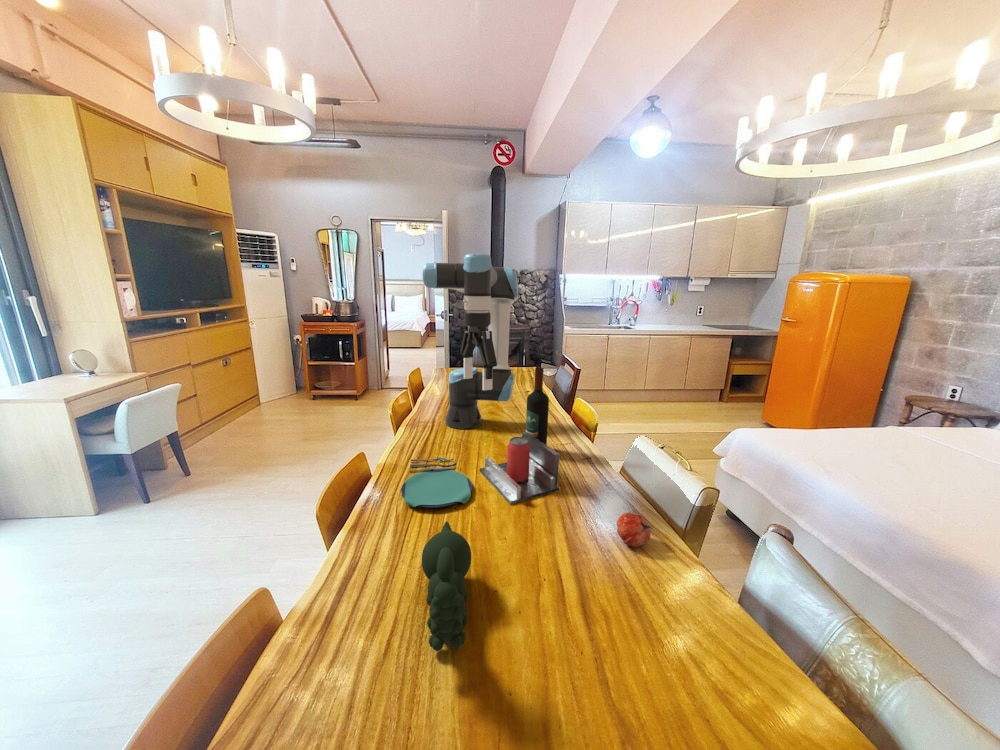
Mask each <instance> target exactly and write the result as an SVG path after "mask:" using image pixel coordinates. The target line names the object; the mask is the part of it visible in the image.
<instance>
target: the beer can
mask: <svg viewBox="0 0 1000 750" xmlns="http://www.w3.org/2000/svg"><path fill="white" fill-rule="evenodd" d="M506 459H507V460H506V461H507V474H508V475H509V476H510V477H511V478H512V479H513V480H514V481H515V482H523V481H526V480H527V479H528V477H529V459H530V446H529V443H528V440H527V439H526V438H524V437H522V436H514V437H510V439H509V442H508V445H507V458H506Z"/></svg>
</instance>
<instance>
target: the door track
mask: <svg viewBox="0 0 1000 750" xmlns="http://www.w3.org/2000/svg"><path fill="white" fill-rule="evenodd" d="M521 437H524V438H526V439H527V440H528V443H529V446H530V459H529V477H528V479H527V480H526V481H523V482H515V481H514V480H513V479H512V478H511V477H510V476H509V475H508V474H507V462H503V463H499V464H498V463H496V462H495V461H494V460H493V459H492V457H490V456H485V457H484V467H481V468H479V472H480V473H481V474H482V476H483V477H484V478H485V479H486V480H487V481H488V482H489V483H490V484H491V486H493V488H494V489H496V491H498V493H499V494H500V495H501V496H502V497H503V498H504V499H505V500H506V501H507V502H508V504H509V505H510V506H511V505H514V504H519V503H522V502H526V501H527V500H528V501H529V500H532V499H535V498H538V497H541V496H544V495H545V496H546V495H549V494H553V493H555V492H558V491H560V486H558V481H559V467H560V466H559V465H560V464H559V463H560V453H559V452H557V451H556V450H555V449H553V448H551V447H550V446H548V444H547V445H545V444H544V443H542V442H541V441H539V440H538V439H537V438H535V437H534V436H532V435H531V434H529V433H528V432H526V431H522V433H521Z"/></svg>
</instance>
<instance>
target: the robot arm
mask: <svg viewBox="0 0 1000 750" xmlns="http://www.w3.org/2000/svg"><path fill="white" fill-rule="evenodd" d="M517 277H518V276H517V271H516V269H515V268H513V267H506V266H493V265H492V257H491V255H490V254H485V253H467V254H465V255H464V256H463V262H456V263H455V262H452V263H451V262H426V263H425V264H424V266H423V268H422V282H423V284H424V286H425V287H426V288H429V289H445V290H446V289H448V290H454V291H455V290H456V291H458V292H459V293H461V294H463V300H462V303H463V305H464V307H463V308H464V310H465V311H464V313H463V324H464V327H463V338H462V341H461V346H460V355H462V358H463V367H459V368H456V369H454V370H452V371H450V372H449V374H448V395H449V397H448V398H449V399H448V401H449V403H448V405H449V406H448V408H447V412H446V413H445V414H446V415H445V418H444V419H445V425H446V426H447V427H449V428H452V429H456V428H457V429H459V430H467V429H468V428H469V429H473V427H474V428H476V426H477V427H478V425H479V426H480V425H481V424H482V415H481V412H480V409H479V406H478V401H484V402H485V401H487V402H498V403H499V402H509V401H510V399H511V397H512V394H513V390H514V383H515V377H516V376H515V373H513V372H512V368H511V367H510V365H509V350H510V349H509V345H510V327H511V326H510V321H511V307H512V305H513V304H514V303H515V299H516V298H518V297H519V285H518V278H517ZM487 329H488V330H487ZM475 347H477V348H478V352H479V353H480V357H481V360H482V363H483V365H482V367H481V368H482V371H479V370H478V367H474V366H473V365H474V364H473V363H474V361H473V359H474V358H473V357H474V355H473V353H474V350H475Z"/></svg>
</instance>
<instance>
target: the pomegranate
mask: <svg viewBox="0 0 1000 750" xmlns="http://www.w3.org/2000/svg"><path fill="white" fill-rule="evenodd" d="M615 523H616V526H617V529H616V531H617V532H616V533H617V535H618V536H619V537H620V538H621V540H622V541H623V543H624V544H625V545H626V546H629V547H632V548H639V547H641V546H643V545H644V544H646V543H648V541H650V539H651V535H652V531H651V530H652V529H653V528H652V527H651V526H650V525H648V522H647V519H646V518H645V517H644V515H642V514H639V513H634V512H631V511H630V512H625V513H622V514H621V515H620V516H618V518H617V520H616V522H615Z"/></svg>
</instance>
